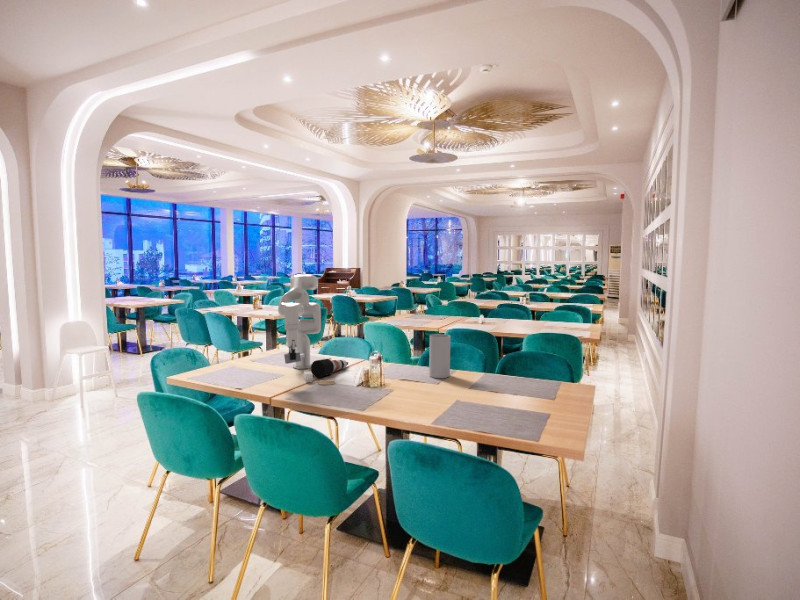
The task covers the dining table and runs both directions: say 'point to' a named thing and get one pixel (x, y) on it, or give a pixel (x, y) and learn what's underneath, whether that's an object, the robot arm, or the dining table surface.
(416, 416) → the dining table surface
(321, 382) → the cork coaster
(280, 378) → the dining table surface
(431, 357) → the cylinder vase
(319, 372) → the black capped bottle
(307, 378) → the cream plug
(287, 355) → the grey plug
